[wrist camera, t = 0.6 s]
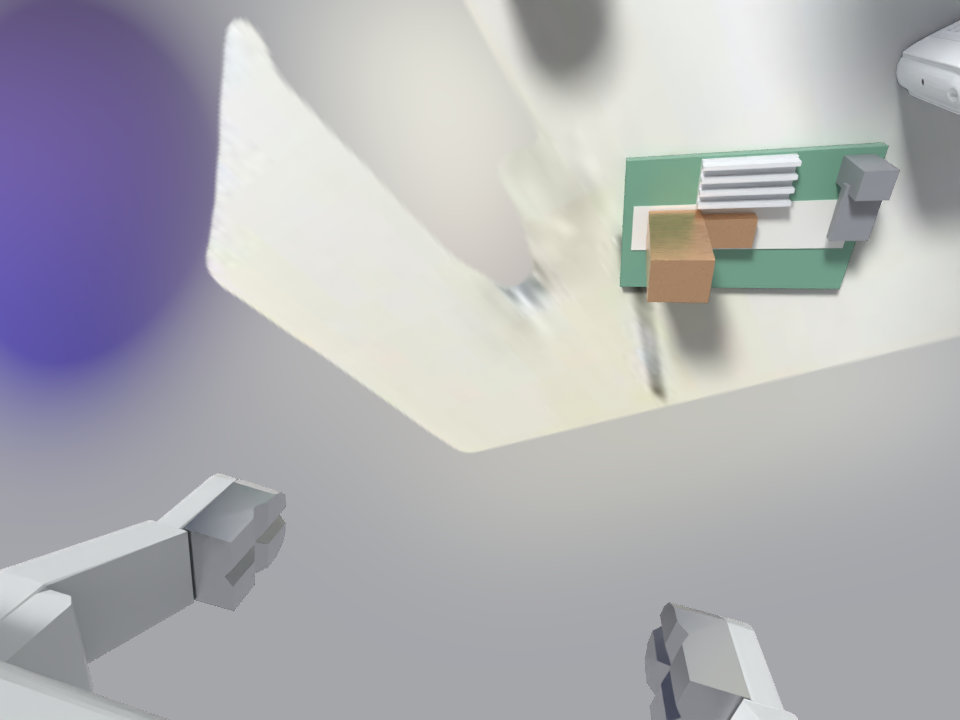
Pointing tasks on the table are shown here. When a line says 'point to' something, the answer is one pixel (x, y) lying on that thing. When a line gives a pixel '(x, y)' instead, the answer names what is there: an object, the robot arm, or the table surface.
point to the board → (765, 209)
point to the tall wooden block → (690, 251)
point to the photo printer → (934, 68)
